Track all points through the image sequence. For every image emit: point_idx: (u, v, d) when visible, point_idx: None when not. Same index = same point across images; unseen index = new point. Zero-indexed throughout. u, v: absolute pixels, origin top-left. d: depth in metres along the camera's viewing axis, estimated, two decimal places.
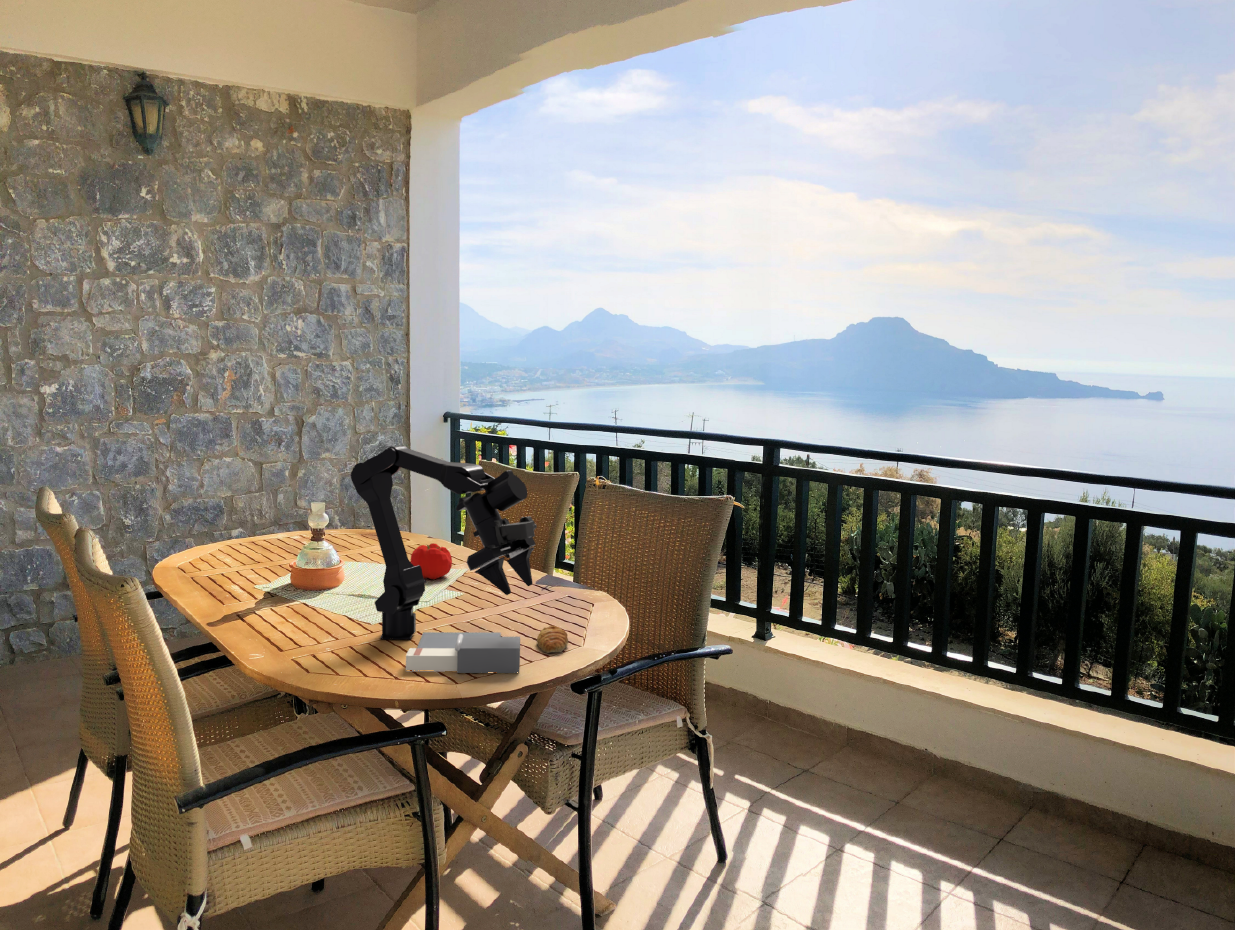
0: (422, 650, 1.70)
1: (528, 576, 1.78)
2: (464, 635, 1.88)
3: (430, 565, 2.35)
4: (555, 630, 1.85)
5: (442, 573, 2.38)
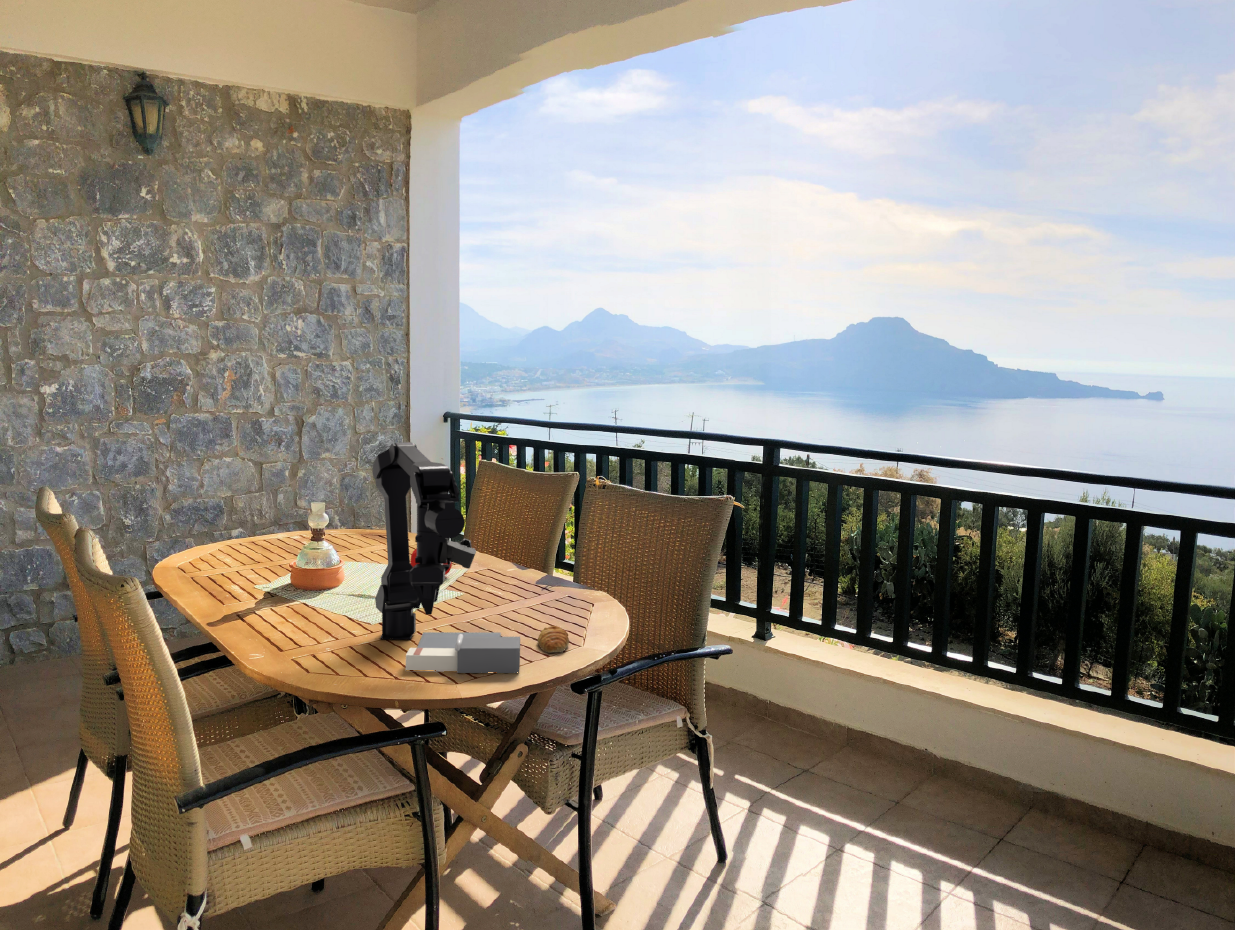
0: (422, 650, 1.70)
1: (436, 593, 1.73)
2: (464, 635, 1.88)
3: None
4: (556, 630, 1.85)
5: None
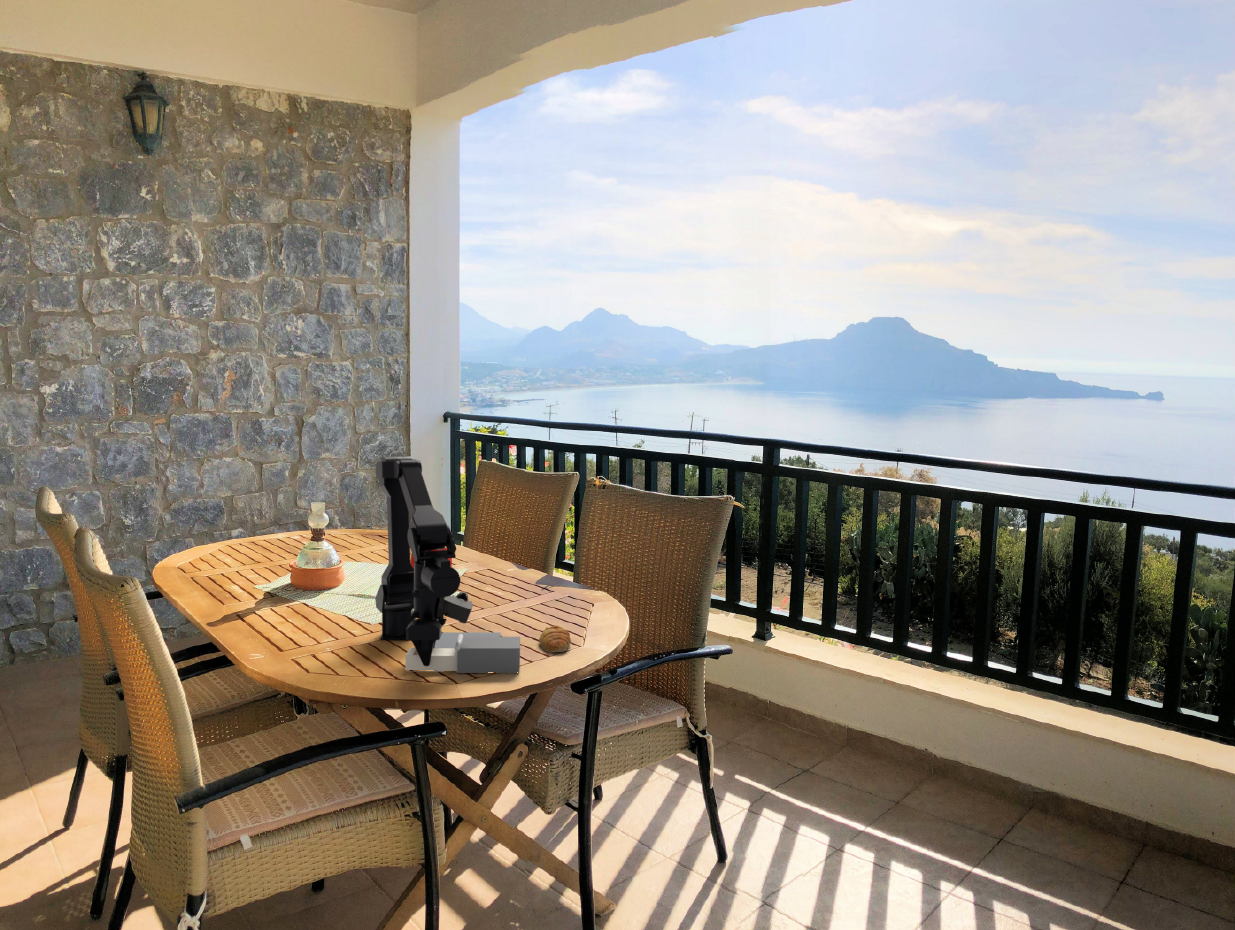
0: None
1: (432, 648, 1.72)
2: (464, 635, 1.88)
3: None
4: (558, 630, 1.86)
5: None
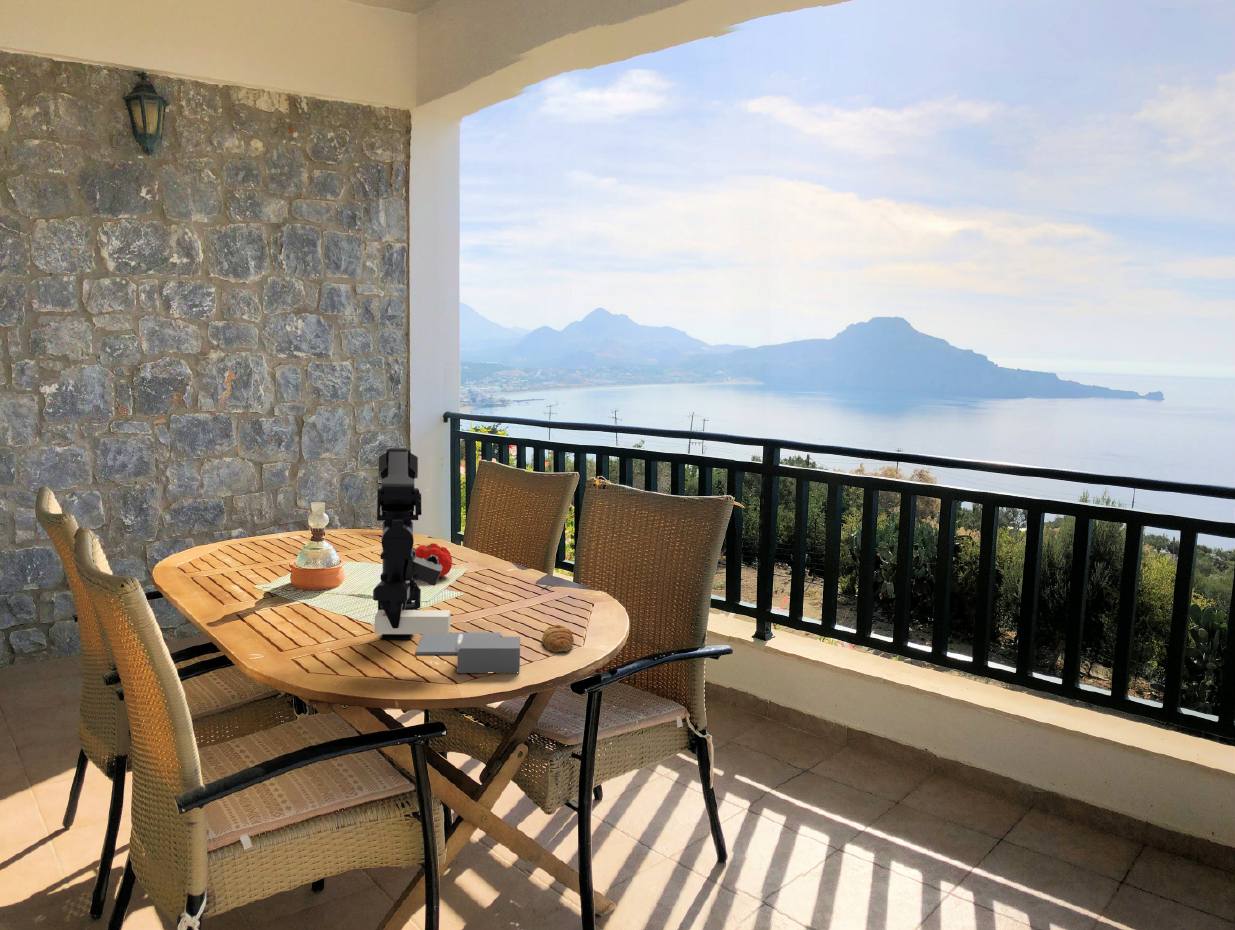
0: None
1: None
2: (464, 635, 1.88)
3: None
4: (560, 629, 1.86)
5: (442, 573, 2.38)
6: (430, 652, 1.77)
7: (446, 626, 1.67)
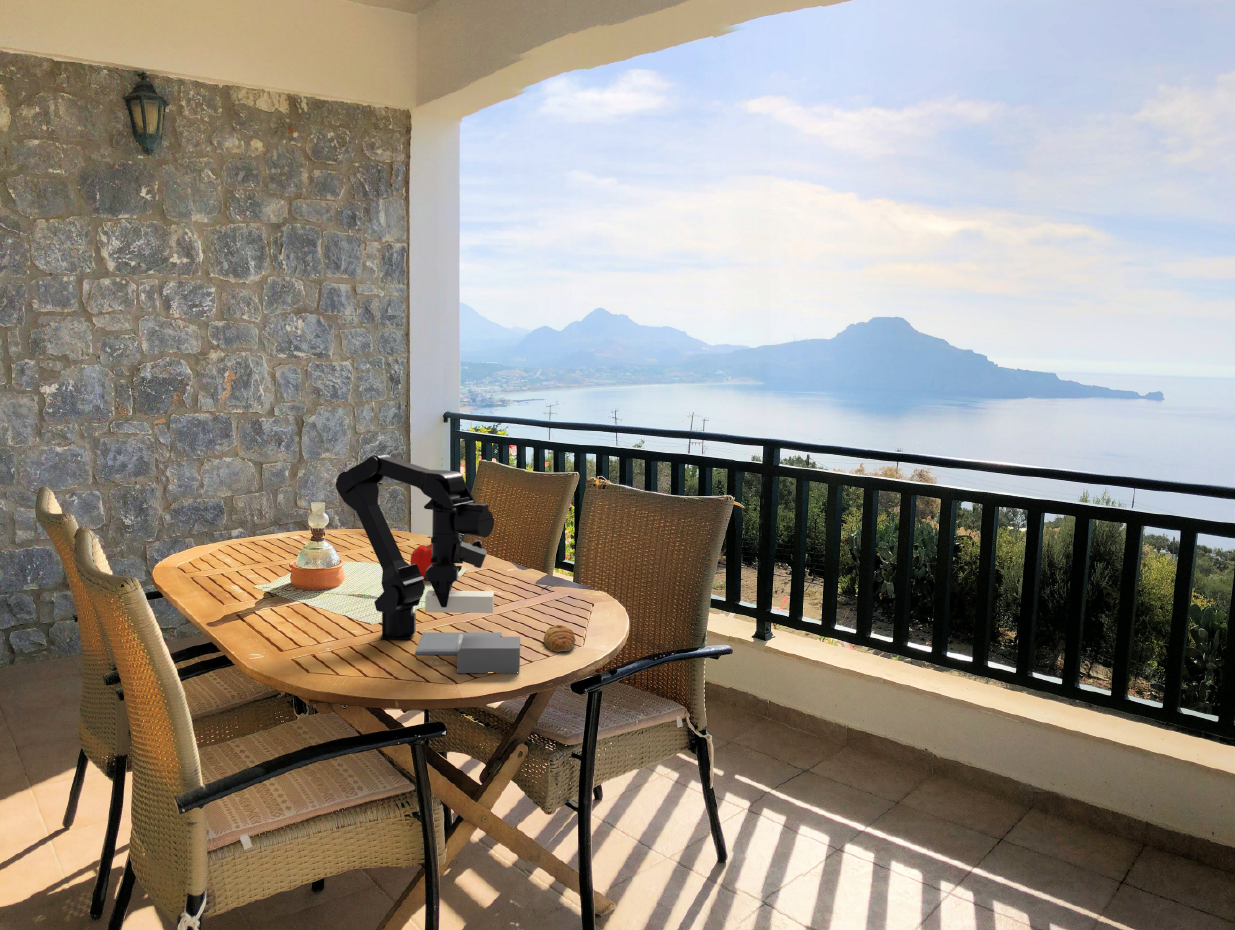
0: None
1: None
2: (464, 635, 1.88)
3: None
4: (562, 629, 1.86)
5: None
6: (430, 652, 1.77)
7: (491, 605, 1.81)
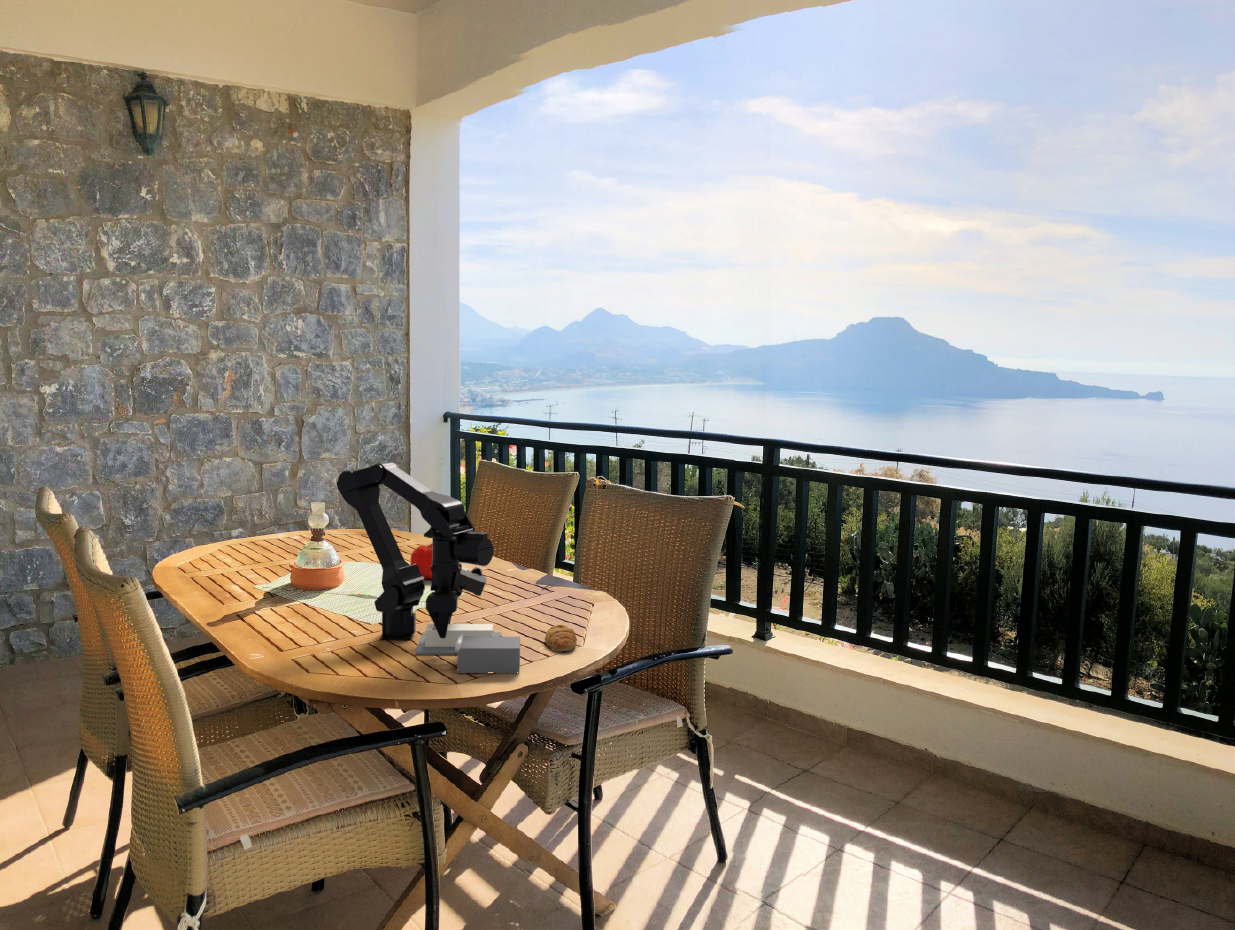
0: None
1: (449, 617, 1.87)
2: None
3: (430, 565, 2.35)
4: (563, 629, 1.86)
5: None
6: (430, 652, 1.77)
7: None
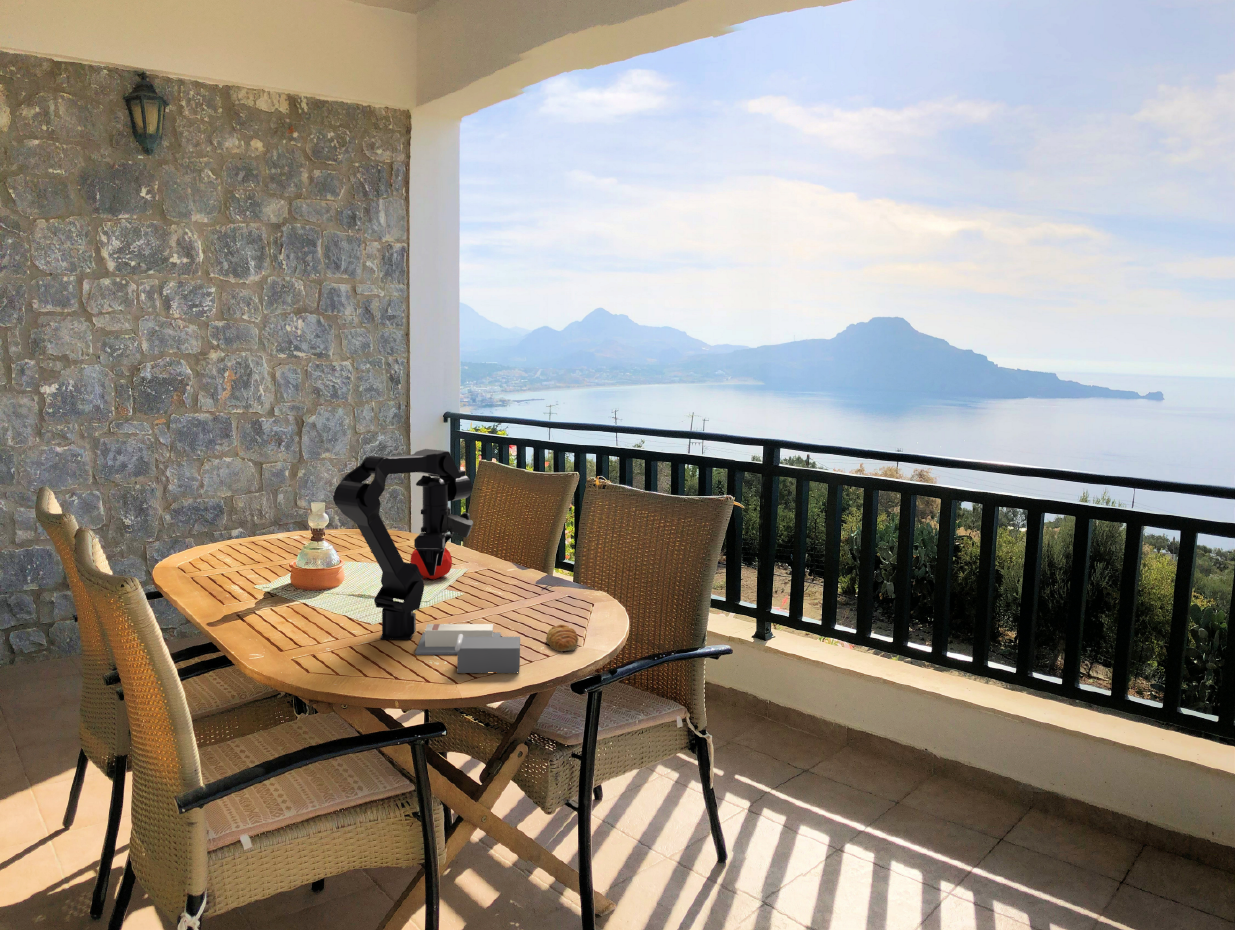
0: (439, 626, 1.83)
1: (440, 558, 2.03)
2: None
3: None
4: (565, 629, 1.86)
5: (442, 573, 2.38)
6: (430, 652, 1.77)
7: None
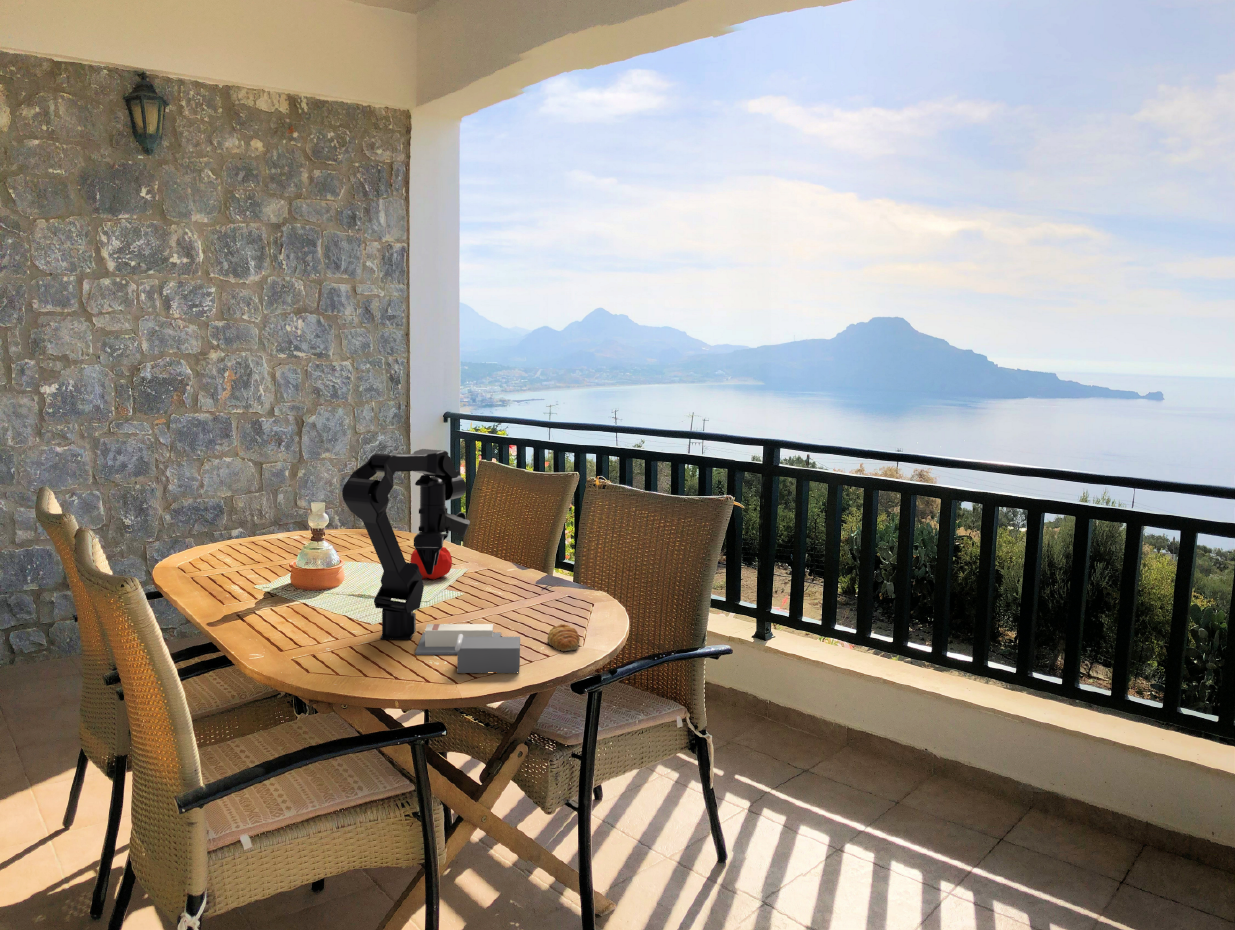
0: (439, 626, 1.83)
1: (436, 557, 2.04)
2: None
3: None
4: (566, 628, 1.87)
5: (442, 573, 2.38)
6: (430, 652, 1.77)
7: None
